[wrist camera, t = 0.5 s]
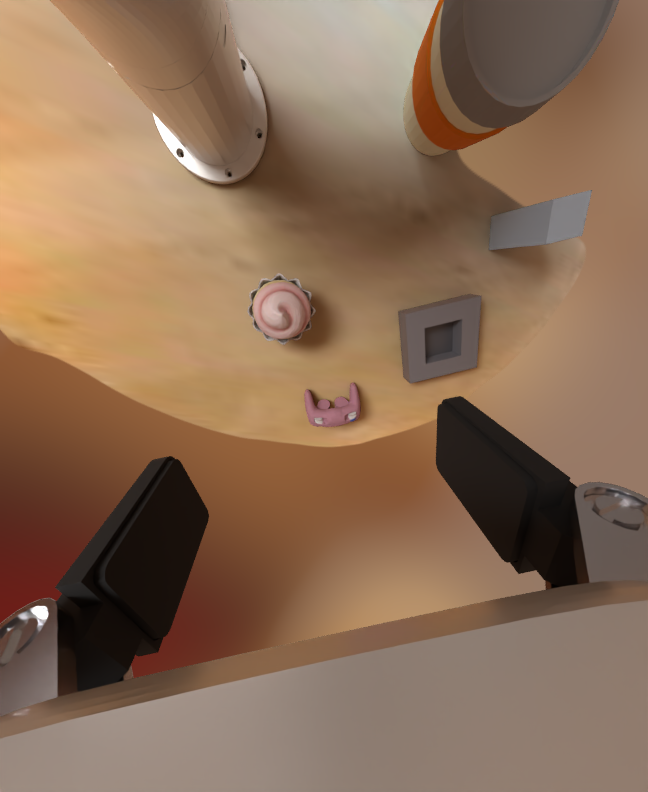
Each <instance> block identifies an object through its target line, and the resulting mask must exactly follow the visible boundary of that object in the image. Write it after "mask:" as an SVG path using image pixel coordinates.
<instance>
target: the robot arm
mask: <svg viewBox="0 0 648 792" xmlns="http://www.w3.org/2000/svg"><path fill="white" fill-rule="evenodd" d="M50 1H51V2H52V3H53V4H54V5H55V6H56V7H57V8H58V9H59V10H60V11H61V12H62V13H63V14H64V15H65V16H66V18H67V19H68V20H69V21H70V22H71V23H72V24H73V25H74V26H75V27H76V28H77V29H78V30H79V31H80V33H81V34H82V35H83V36H84V37H85V38H86V39H87V40H88V41H89V42H90V44H91V45H92V46H93V47H94V48H95V49H96V50H97V51H98V52H99V54H100V55H101V56H102V57H103V58H104V59H105V60H106V61H107V63H108V64H109V65H110V66H111V67H112V68H113V69H114V70H115V72H116V73H117V74H118V75H119V76H120V77H121V78H122V79H123V80H124V81H125V83H126V84H127V85H128V86H129V87H130V88H131V89H132V90H133V91H134V93H135V94H136V95H137V96H138V97H139V98H140V99H141V100H142V101H143V102H144V104H145V105H146V106H147V107H148V108H149V109H150V110H151V111H152V114H153V117H154V121H155V124H156V126H157V129H158V131H159V133H160V135H161V137H162V139H163V141H164V143H165V144H166V146H167V147H168V149H169V151H170V152H171V153H172V154H173V155H174V157H175V158H176V159H177V160H178V161H179V162H180V163H181V164H182V165H183V166H184V167H185V168H186V169H187V170H189V171H190V172H191V173H193V174H194V175H195V176H197V177H199V178H201V179H203V180H205V181H207V182H211V183H215V184H230V183H235V182H237V181H240V180H242V179H244V178H245V177H246V176H248V175H249V174H250V173H251V172H252V171H253V170H254V168H255V167H256V166H257V165H258V163H259V161H260V159H261V157H262V155H263V152H264V148H265V145H266V139H267V131H268V125H267V111H266V104H265V100H264V96H263V91H262V88H261V86H260V83H259V80H258V78H257V75H256V73H255V72H254V70H253V68H252V66H251V64H250V62H249V61H248V60H247V58H246V57H245V55H244V54H243V53H242V51H241V50H240V49H239V48H238V47H237V45H236V41H235V37H234V33H233V30H232V26H231V22H230V18H229V14H228V10H227V6H226V2H225V0H50ZM243 68H245V69H246V70H245V71H243ZM259 134H260V135H262V138H260V139H259V138H258V135H259ZM181 154H184V157H183V158H182V157H181ZM229 173H231V174H232V176H231V177H228V174H229ZM436 465H437V468H438V471H439V472H440V474H441V475H442V476H443V478H444V479H445V480H446V482H447V483H448V485H449V486H450V488H451V489H452V490H453V492H454V493H455V495H456V496H457V497H458V499H459V500H460V501H461V503H462V504H463V506H464V507H465V508H466V510H467V511H468V512H469V514H470V515H471V517H472V518H473V520H474V521H475V522H476V524H477V525H478V527H479V528H480V529H481V531H482V532H483V533H484V535H485V536H486V538H487V539H488V540H489V542H490V543H491V545H492V546H493V547H494V549H495V550H496V552H497V553H498V554H499V556H500V557H501V558H502V559H503V560H504V561H505V562H510V563H511V564H512V566H513V567H514V568H515V570H516V571H517V572H518V573H519V574H520V573H525V572H530V571H534V570H537V572H538V573H539V574H540V575H541V576H542V578H543V579H544V580H545V586H546V590H542V591H537V592H532V593H526V594H522V595H516V596H511V597H505V598H500V599H495V600H490V601H485V602H481V603H477V604H471V605H467V606H462V607H458V608H453V609H448V610H443V611H438V612H434V613H429V614H424V615H419V616H415V617H410V618H406V619H401V620H396V621H392V622H387V623H382V624H377V625H373V626H368V627H363V628H359V629H354V630H350V631H345V632H340V633H336V634H331V635H327V636H322V637H318V638H313V639H308V640H304V641H299V642H295V643H291V644H286V645H281V646H277V647H272V648H267V649H263V650H259V651H254V652H249V653H244V654H240V655H236V656H231V657H227V658H222V659H218V660H213V661H209V662H205V663H200V664H195V665H191V666H186V667H182V668H178V669H173V670H169V671H164V672H160V673H155V674H151V675H146V676H142V677H137V678H133V673H132V669H131V663H132V661H133V659H134V656H135V654H136V655H137V656H143V655H147V654H152V653H156V652H158V651H159V648H160V645H161V643H162V640H163V637H165V636H166V635H167V634H168V632H169V630H170V628H171V626H172V623H173V620H174V617H175V614H176V611H177V609H178V606H179V603H180V600H181V597H182V594H183V591H184V588H185V586H186V583H187V580H188V577H189V574H190V571H191V568H192V566H193V563H194V560H195V557H196V554H197V551H198V548H199V546H200V542H201V540H202V537H203V534H204V531H205V528H206V525H207V523H208V518H209V514H208V510H207V508H206V507H205V505H204V503H203V501H202V499H201V497H200V496H199V494H198V492H197V490H196V489H195V487H194V485H193V483H192V481H191V480H190V478H189V476H188V475H187V472H186V471H185V469H184V468H183V465H182V464H181V462H180V461H179V460H178V459H175V458H173V457H171V456H169V457H164V458H159V459H155V460H152V461H151V462H150V463H149V464H148V466H147V467H146V469H145V470H144V471H143V472H142V474H141V475H140V476H139V478H138V479H137V481H136V482H135V483H134V484H133V485H132V487H131V488H130V489H129V491H128V492H127V493H126V495H125V496H124V497H123V499H122V500H121V501H120V503H119V504H118V505H117V507H116V508H115V509H114V511H113V512H112V513H111V514H110V516H109V517H108V518H107V520H106V521H105V522H104V524H103V525H102V526H101V528H100V529H99V531H98V532H97V533H96V534H95V536H94V537H93V538H92V540H91V541H90V542H89V543H88V545H87V546H86V547H85V549H84V550H83V551H82V553H81V554H80V555H79V557H78V558H77V559H76V561H75V562H74V563H73V564H72V566H71V567H70V569H69V570H68V571H67V572H66V574H65V575H64V576H63V578H62V579H61V580H60V582H59V583H58V584H57V586H56V587H55V588H57V589H58V590H59V591H60V592H61V593H62V595H61V596H60V598H59V599H58V600H57V601H55V600H53V599H51V598H46V599H40V600H37V601H35V602H32V603H30V604H28V605H26V606H25V607H23V608H22V609H20V610H18V611H16V612H15V613H14V614H12V615H11V616H10V617H8V618H7V619H6V620H4V621H3V622H2V623H1V624H0V792H648V498H646V497H645V496H643V495H641V494H639V493H636V492H634V491H631V490H629V489H627V488H624V487H621V486H617V485H613V484H608V483H602V482H588V483H585V484H582V485H580V486H579V487H576V486H575V485H574V484H573V483H571V482H570V481H569V480H570V477H568V476H567V475H566V474H564V473H563V472H562V471H560V470H559V469H558V468H556V467H555V466H554V465H552V464H551V463H550V462H548V461H547V460H546V459H544V458H543V457H542V456H540V455H539V454H538V453H536V452H535V451H534V450H532V449H531V448H530V447H528V446H527V445H526V444H524V443H523V442H522V441H520V440H519V439H518V438H516V437H515V436H514V435H512V434H511V433H510V432H508V431H507V430H506V429H504V428H503V427H501V426H500V425H499V424H497V423H496V422H495V421H494V420H492V419H491V418H489V417H488V416H487V415H486V414H484V413H483V412H482V411H480V410H479V409H478V408H476V407H475V406H474V405H472V404H471V403H470V402H468V401H467V400H466V399H464V398H463V397H461V396H459V397H454V398H449V399H444V400H443V401H442V404H440V405H438V412H437V446H436Z"/></svg>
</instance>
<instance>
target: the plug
mask: <svg viewBox="0 0 648 792" xmlns="http://www.w3.org/2000/svg"><path fill="white" fill-rule="evenodd" d="M591 192H592V190H590V191H586V192H581V193H578V194H573V195H569V196H565V197H561V198H557V199H553V200H550V201H546V202H542V203H538V204H535V205H531V206H527V207H524V208H520V209H516V210H512V211H509V212H505V213H501V214H498V215H494V216H491V226H490V240H489V250H495V249H505V248H515V247H525V246H535V245H545V244H550V243H554V242H558V241H562V240H566V239H570V238H574V237H578V236H582V234H583V229H584V224H585V220H586V215H587V210H588V206H589V201H590V197H591Z"/></svg>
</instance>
